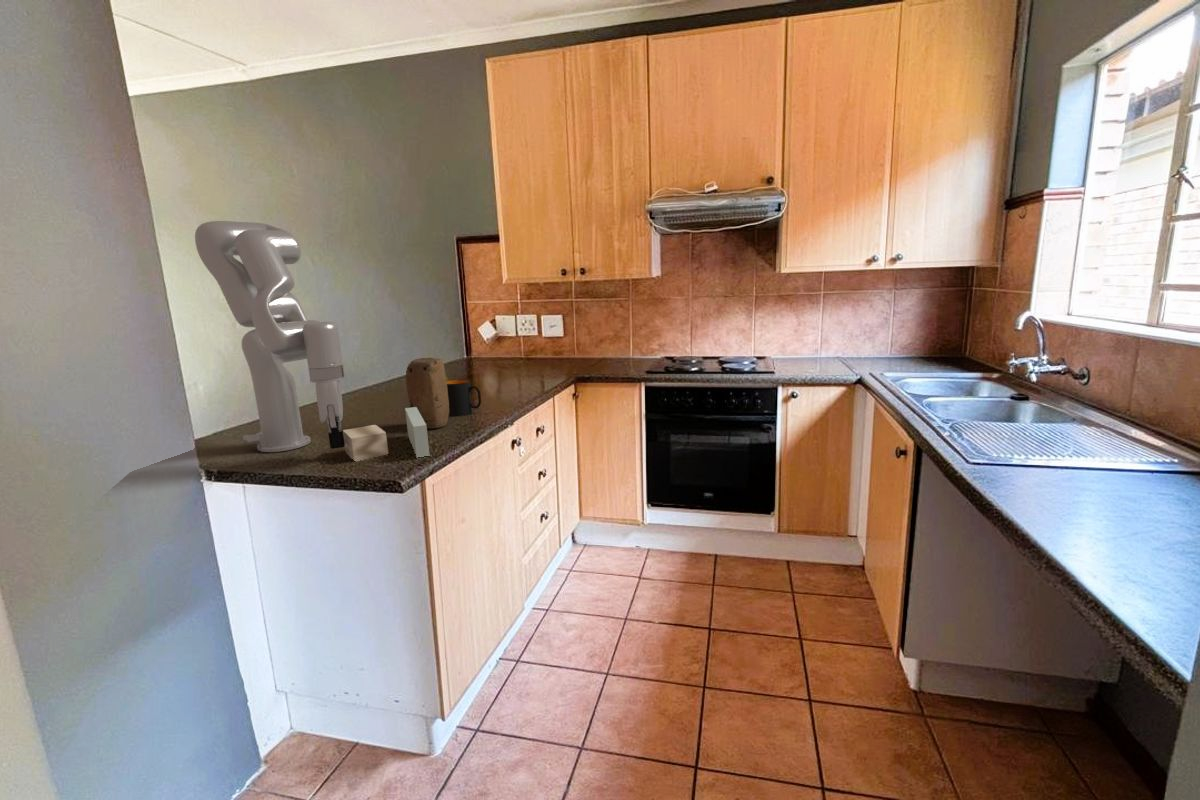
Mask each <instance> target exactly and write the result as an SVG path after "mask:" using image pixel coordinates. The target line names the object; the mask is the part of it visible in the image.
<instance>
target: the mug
mask: <svg viewBox="0 0 1200 800" xmlns="http://www.w3.org/2000/svg"><path fill="white" fill-rule="evenodd" d="M473 389H475V390H476V393H477V399H478V403H477V405H473V403H472V395H471V392H472V390H473ZM447 390H448V400H449V416H448V417H463V415H464V416H468V415H471V414H472V413H473V409H479V408H480V407H481V404H482V395H481V394H482V393H481V391H480V388H479V387H478V386H476V385H472V386H471V383H470V380H469V379H466V378H459V379H457V378H456V379H448V381H447Z"/></svg>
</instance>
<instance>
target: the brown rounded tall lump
mask: <svg viewBox="0 0 1200 800" xmlns="http://www.w3.org/2000/svg"><path fill="white" fill-rule="evenodd" d="M446 377H447V375H446V370H445V363H444V360H443V359H441V358H433V357H426V358H425V357H420V358H415V359H413V360H412V361H410V362H409V363H408V365H407V367H406V372H405V381H406V382H405V384H406V390H407V391H406V392H407V398H408V402H409V408H412V407H417V409H418V411H419V413H420V414H421V416H422V418H423V420H424V422H425V423H426V426H427V430H428V429H431V430H432V429H440V428H443V427H445V426H446V425H447V423H448V420H449V417H450V416H449V400H448V390H447V381H446Z"/></svg>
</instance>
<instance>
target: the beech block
mask: <svg viewBox="0 0 1200 800" xmlns="http://www.w3.org/2000/svg"><path fill="white" fill-rule="evenodd" d="M342 430H343V435H344V442H345V446H344V451H345V453H346V455H348V456H349V458H351V460H352V459H353V460H354V461H356V462H360V460H361V461H365V460H364V459H366V460H370V459H369V458H371V459H374V458H373V457H376V458H379V457H378V456H381V457H383V456H382V455H386V454H389V448H388V439H387V433H386V431H385V430H383V428H381V427H379V425H376V424H371V425H365V426H360V427H354V428H348V429H342ZM386 456H387V455H386ZM353 460H352V461H353ZM354 461H353V462H354Z"/></svg>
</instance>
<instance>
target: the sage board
mask: <svg viewBox="0 0 1200 800" xmlns="http://www.w3.org/2000/svg"><path fill="white" fill-rule="evenodd" d="M404 410H405V411H404V412H405V419H406V420H405V421H406V428H407V437H408V438H409V442H410V444H412V445H411V447H412V449H414V450H413V452H414V455H415V454H416V455H415V457H416V459H419V458H418V457H424V456H430V455H431V454H430V446H429V437H428V428H427V426H426V423H425V422H424V420H423V418H422V416H421V414H420V413H419V411H418V409H417V407H412V408H410V407H405V408H404ZM424 458H425V457H424Z"/></svg>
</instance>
